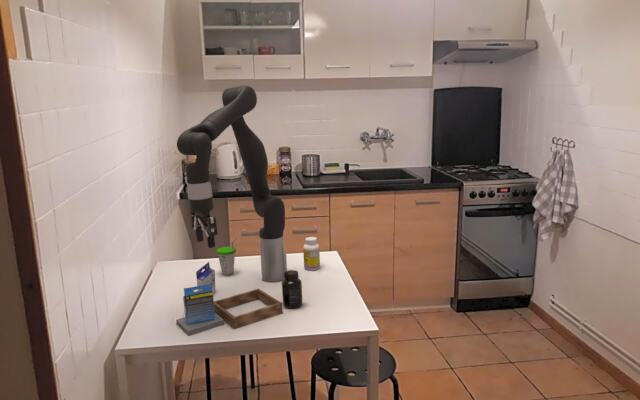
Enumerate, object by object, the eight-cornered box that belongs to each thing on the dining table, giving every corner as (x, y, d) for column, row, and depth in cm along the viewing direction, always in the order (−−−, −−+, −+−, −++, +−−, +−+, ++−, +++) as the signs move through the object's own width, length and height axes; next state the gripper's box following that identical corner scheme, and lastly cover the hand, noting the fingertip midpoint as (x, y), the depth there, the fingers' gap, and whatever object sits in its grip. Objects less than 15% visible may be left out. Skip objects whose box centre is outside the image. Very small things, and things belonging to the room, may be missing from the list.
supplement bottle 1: (305, 302, 177) (304, 269, 174) (298, 310, 171) (297, 276, 168) (287, 299, 179) (285, 268, 176) (279, 307, 173) (278, 274, 170)
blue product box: (212, 314, 165) (210, 279, 163) (215, 319, 162) (212, 283, 159) (185, 320, 162) (181, 284, 159) (186, 325, 159) (183, 288, 156)
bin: (258, 297, 182) (258, 288, 181) (282, 312, 169) (282, 303, 168) (212, 311, 171) (211, 302, 170) (234, 328, 159) (233, 318, 158)
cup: (213, 275, 204) (211, 239, 201) (227, 269, 211) (224, 234, 208) (228, 278, 200) (226, 242, 197) (241, 272, 207) (239, 237, 203)
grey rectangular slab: (211, 313, 170) (210, 309, 170) (224, 324, 162) (223, 319, 162) (176, 323, 163) (176, 319, 163) (188, 335, 155) (188, 331, 155)
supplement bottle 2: (302, 266, 212) (301, 236, 209) (317, 264, 213) (317, 235, 210) (305, 271, 205) (304, 241, 203) (321, 269, 207) (320, 239, 204)
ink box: (203, 303, 178) (201, 272, 176) (197, 303, 179) (195, 272, 176) (216, 290, 189) (214, 261, 187) (210, 290, 190) (208, 261, 187)
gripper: (221, 197, 156) (226, 246, 160) (201, 190, 167) (206, 236, 171) (198, 201, 152) (204, 252, 156) (180, 194, 163) (185, 242, 167)
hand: (205, 244), depth 164 cm, fingers open, 8 cm apart
